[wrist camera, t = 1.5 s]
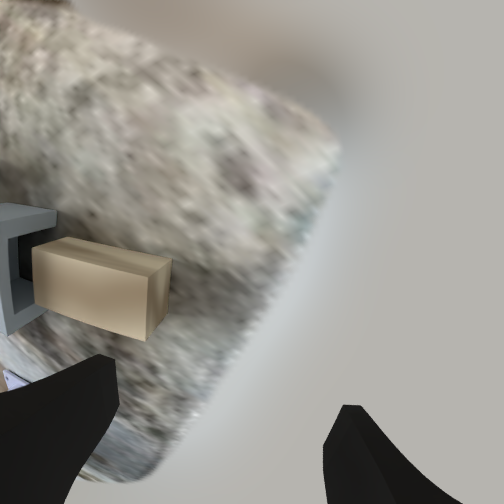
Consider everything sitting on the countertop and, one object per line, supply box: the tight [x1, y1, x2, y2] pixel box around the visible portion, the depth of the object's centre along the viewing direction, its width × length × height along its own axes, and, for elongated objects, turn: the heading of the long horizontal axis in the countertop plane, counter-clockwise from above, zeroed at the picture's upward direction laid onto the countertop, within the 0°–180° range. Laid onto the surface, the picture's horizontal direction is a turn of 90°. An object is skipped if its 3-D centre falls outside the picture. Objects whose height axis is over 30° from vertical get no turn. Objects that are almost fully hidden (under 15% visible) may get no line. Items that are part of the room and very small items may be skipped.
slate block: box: [0, 202, 57, 337], centre depth 15 cm, size 7×6×6 cm
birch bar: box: [32, 237, 172, 341], centre depth 16 cm, size 4×8×4 cm, turn 80°
